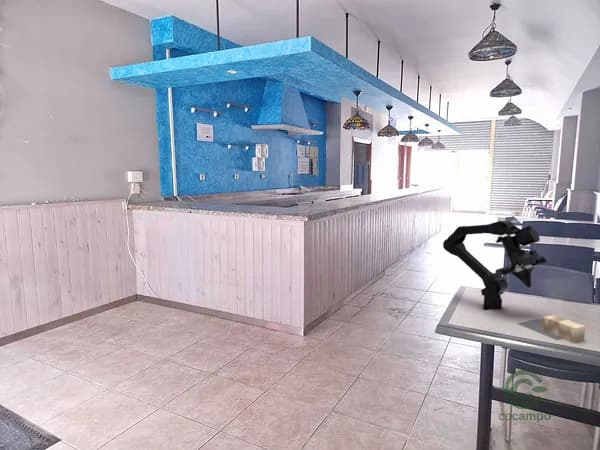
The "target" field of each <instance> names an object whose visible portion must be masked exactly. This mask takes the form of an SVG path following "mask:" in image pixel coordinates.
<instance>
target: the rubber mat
mask: <svg viewBox="0 0 600 450" xmlns="http://www.w3.org/2000/svg"><path fill="white" fill-rule="evenodd" d="M516 324H517V325H519V326H521V327H524V328H527V329H529V330H532V331H534V332H537V333H539V334H541V335H543V336H546V337H549V338H551V339H553V340H556V341H559V340H564V338H562V337H559V336H557V335H554V334H552V333H549V332H547V331H544V330H542V329H541V328H542V319H540V318H536V319H531V320H526V321H522V322H518V323H517V322H516Z"/></svg>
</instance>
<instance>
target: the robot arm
mask: <svg viewBox="0 0 600 450" xmlns="http://www.w3.org/2000/svg"><path fill="white" fill-rule="evenodd" d="M481 234H491V235H496V236H498V237H497V239H496V241H495V243H496V244H499V243H501V244H502V247H503V249H504V251H505V253H506V254H505V257H506V258H508V260H509V265H507V266H504V267H501V268H498V269H495V272H494V273H493V272H492V271H490V270H489V269H488V268H487V267H486V266H485V265H484V264H483V263H481V262H480V261H479V260H478V259H477V258H476V257H475V256H474V255H472V254H471V252H470V251H468V249H467V248H466V245H465V243H464V242H465V240H466V237H467V236H468V235H481ZM504 235H505V236H504ZM512 235H513V236H512ZM540 238H541V237H540V234H539V233H538V231H537V230H536V229H534V228H533V225H528V226H525V227H524V228H519V227H518V226H516V225H514V223H513V222H512V221H511V220H509V219H505V220H499V221H495V222H492V223H488V224H479V225H477V224H476V225H461V226H458V227H457V228H455V230H454V232H452V233H451V234H450V235H449V236H448V237H447V238H446V239H444V241H443V243H442V245H443V246H442V247H443V250H444V251H446V252H448V253H449V254H450V255H453V256H455V257H457V258H458V259H460V260H461V261H462V262H463V263H464V264H465V265H466V266H467V267H468V268H469V269H470V270H472V271H473V273H475V274H476V275H477V276H478V277H479V278H480V279H481V280H482V283H483V286H484V288H482V289H481V290H480V293H481V296H483V304H482V308H483V309H482V310H484V311H489V310H502V308H503V298H502V297H501V296H502V295H503V294H504V292H506V291H507V289H509V282H508V281H507V278H506V277H504V276H505V275H508V274H510V275H513V276H514V277H516V278H517V279H518V280H520V281H521V282H522V284H524V285H525V286H526V287H527V288H532V277H531V275H532V271H533V270H534V269H535V266H538V265H541V264H545V263H548V260H547V259H546V257H545V256H543V255H540V256H539V254H538V251H537V250H534V249H532V250H530V251H529V252H526V250H525V249H522V247H526V246H530V245H532V244H535V243H539V242H540V241H541V240H540ZM521 246H522V247H521Z"/></svg>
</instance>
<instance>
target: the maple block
mask: <svg viewBox="0 0 600 450" xmlns="http://www.w3.org/2000/svg"><path fill="white" fill-rule="evenodd" d="M541 320H542V328H541V329H542V330H544V331H547V332H549V333H552V334H554V335H557V336H559V337H562V338H564V339H565V340H568V341H570V342H572V343H578V342H582V341H585V334H586V326H585V325H583V324H580V323H578V322H574V321H573V320H572V321H571V320H568V319H566V318H563V317H561V316H557V315H554V314H547V315H542V319H541ZM564 339H563V340H564Z"/></svg>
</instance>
